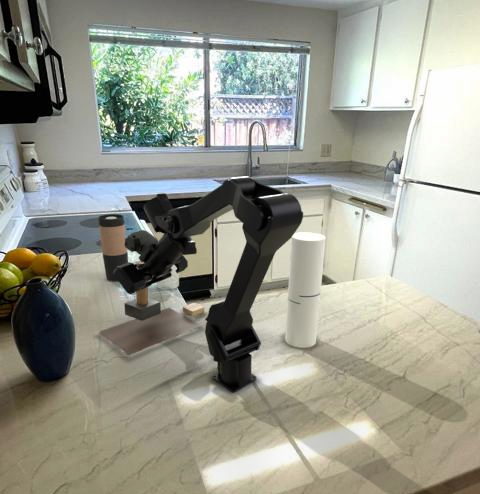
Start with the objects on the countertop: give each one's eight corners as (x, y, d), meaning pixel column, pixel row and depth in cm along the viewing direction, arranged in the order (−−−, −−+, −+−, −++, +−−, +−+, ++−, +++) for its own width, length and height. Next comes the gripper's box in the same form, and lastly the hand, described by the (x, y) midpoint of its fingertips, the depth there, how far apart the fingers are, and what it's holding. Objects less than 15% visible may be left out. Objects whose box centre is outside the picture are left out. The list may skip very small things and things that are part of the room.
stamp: (160, 313, 98) (159, 261, 94) (142, 320, 93) (139, 266, 89) (143, 307, 101) (141, 257, 97) (124, 314, 96) (121, 262, 92)
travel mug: (104, 275, 133) (96, 215, 125) (127, 272, 136) (121, 213, 128) (107, 283, 126) (99, 220, 119) (132, 279, 129) (125, 218, 122)
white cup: (149, 287, 123) (147, 256, 119) (165, 279, 130) (163, 249, 126) (170, 292, 120) (168, 260, 116) (185, 284, 126) (184, 253, 122)
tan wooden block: (204, 315, 106) (204, 306, 105) (192, 320, 103) (192, 311, 102) (194, 310, 108) (194, 302, 107) (183, 315, 106) (182, 306, 105)
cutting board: (201, 329, 98) (201, 325, 98) (128, 360, 86) (127, 355, 85) (169, 311, 108) (169, 307, 107) (98, 336, 95) (97, 331, 95)
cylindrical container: (315, 349, 90) (325, 242, 81) (283, 345, 92) (290, 239, 82) (316, 334, 97) (325, 233, 87) (286, 331, 98) (292, 231, 89)
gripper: (175, 213, 95) (145, 251, 104) (113, 229, 80) (85, 272, 89) (203, 250, 94) (170, 285, 103) (146, 273, 79) (114, 312, 88)
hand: (137, 287), depth 96 cm, fingers closed on stamp, 3 cm apart
